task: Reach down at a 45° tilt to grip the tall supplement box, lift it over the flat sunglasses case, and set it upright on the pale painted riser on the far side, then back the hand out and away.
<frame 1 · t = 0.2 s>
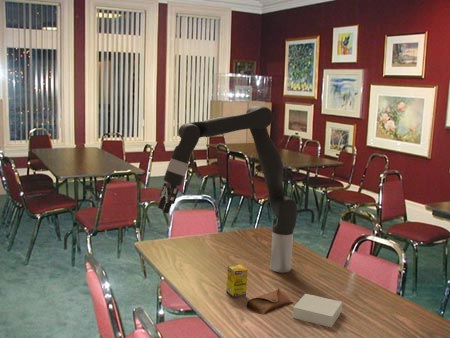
hand: (162, 210, 201), 30 cm above the table, tool tilted 20°, fingers open, 8 cm apart
supplement box: (236, 294, 199), on the table
sunglasses case: (270, 306, 191), on the table
riser: (317, 314, 184), on the table
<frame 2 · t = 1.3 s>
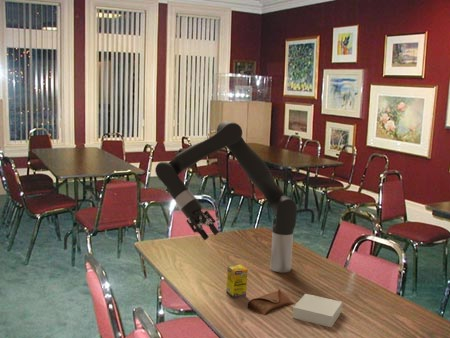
hand: (212, 236, 201), 22 cm above the table, tool tilted 45°, fingers open, 8 cm apart
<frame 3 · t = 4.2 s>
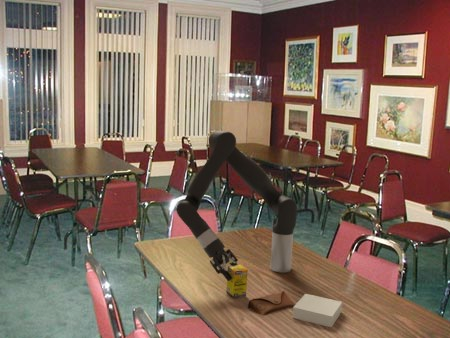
hand: (235, 276, 199), 7 cm above the table, tool tilted 45°, fingers open, 8 cm apart
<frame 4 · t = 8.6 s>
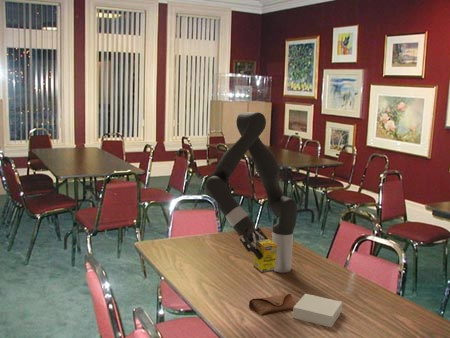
hand: (266, 255, 191), 18 cm above the table, tool tilted 45°, fingers closed on supplement box, 8 cm apart
supplement box: (263, 269, 193), point 12 cm above the table, touching gripper
sunglasses case: (275, 309, 188), on the table
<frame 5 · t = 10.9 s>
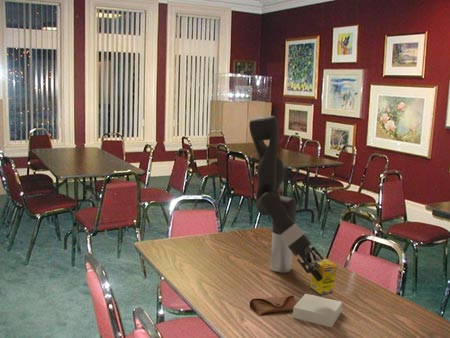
hand: (323, 276, 181), 15 cm above the table, tool tilted 45°, fingers closed on supplement box, 8 cm apart
supplement box: (321, 291, 182), point 9 cm above the table, touching gripper
when the fingers open (11 cm above the table, at t = 13.2 s): supplement box stays where it is, resting on riser.
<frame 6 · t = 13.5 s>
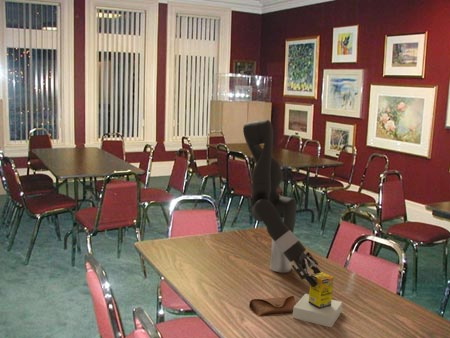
hand: (318, 281, 183), 12 cm above the table, tool tilted 45°, fingers open, 8 cm apart
supplement box: (319, 305, 183), point 4 cm above the table, touching gripper, riser
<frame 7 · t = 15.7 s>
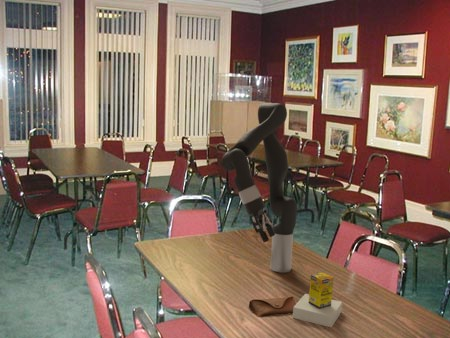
hand: (269, 238, 192), 24 cm above the table, tool tilted 30°, fingers open, 8 cm apart
supplement box: (319, 305, 183), point 4 cm above the table, touching riser
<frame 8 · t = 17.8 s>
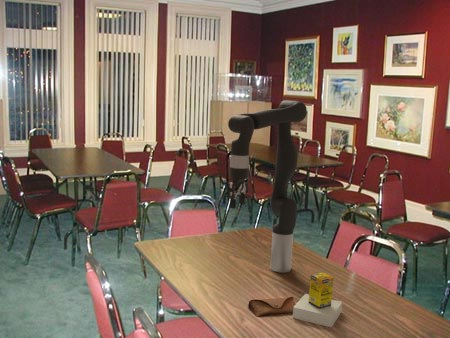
hand: (237, 206, 203), 33 cm above the table, tool pointing down, fingers open, 8 cm apart
at the end: supplement box inside the target area on the riser (0.6 cm from its centre), point 3.8 cm above the riser's base; supplement box tilted 0°; the gripper is holding nothing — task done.
